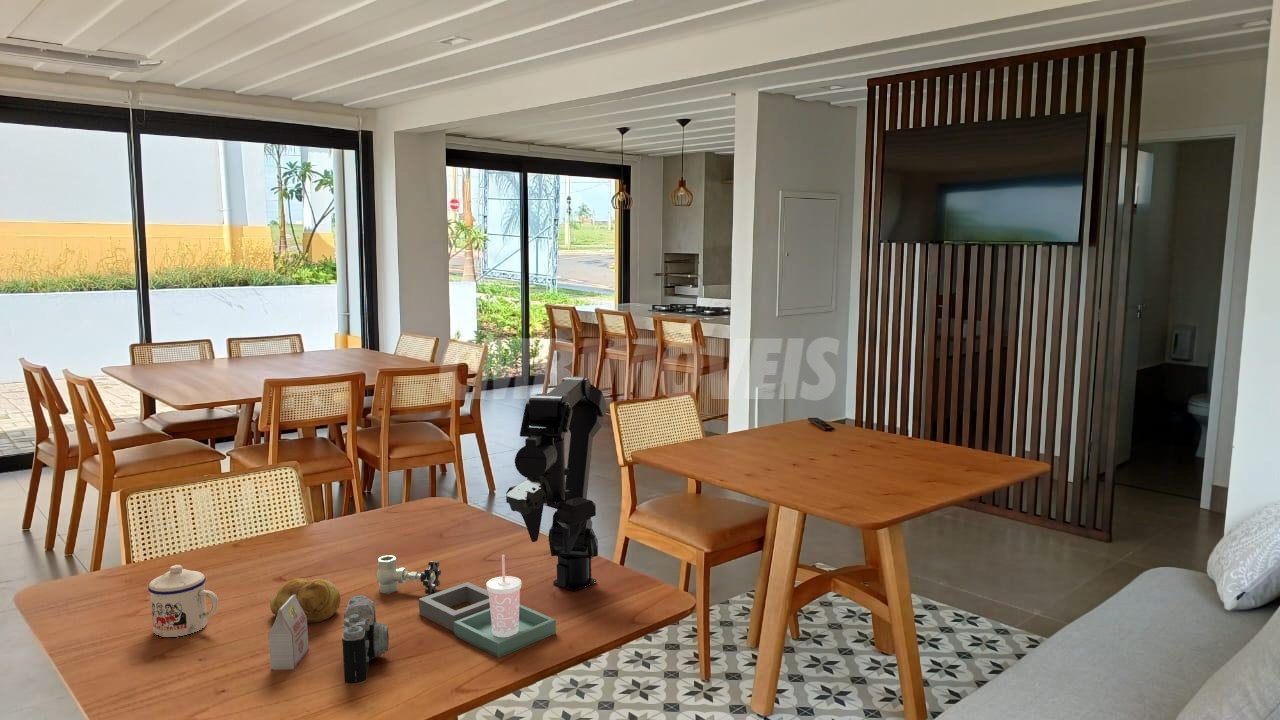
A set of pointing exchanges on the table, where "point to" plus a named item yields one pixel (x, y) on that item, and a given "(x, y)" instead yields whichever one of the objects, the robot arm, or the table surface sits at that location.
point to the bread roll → (309, 598)
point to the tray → (481, 636)
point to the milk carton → (288, 636)
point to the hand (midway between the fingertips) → (550, 547)
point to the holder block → (440, 602)
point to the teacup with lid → (180, 602)
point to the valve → (405, 575)
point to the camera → (361, 638)
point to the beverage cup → (504, 603)
